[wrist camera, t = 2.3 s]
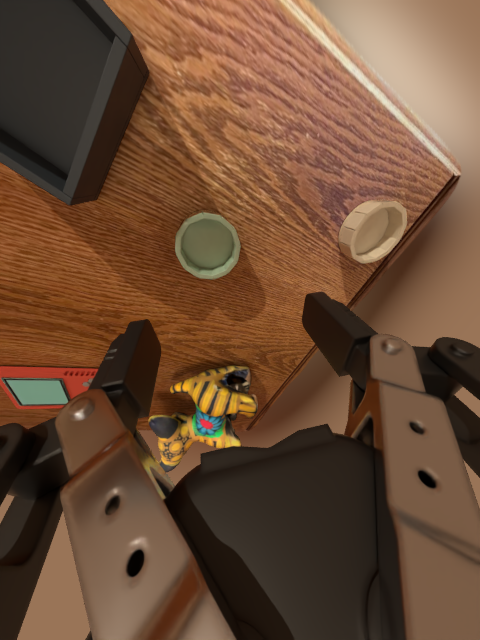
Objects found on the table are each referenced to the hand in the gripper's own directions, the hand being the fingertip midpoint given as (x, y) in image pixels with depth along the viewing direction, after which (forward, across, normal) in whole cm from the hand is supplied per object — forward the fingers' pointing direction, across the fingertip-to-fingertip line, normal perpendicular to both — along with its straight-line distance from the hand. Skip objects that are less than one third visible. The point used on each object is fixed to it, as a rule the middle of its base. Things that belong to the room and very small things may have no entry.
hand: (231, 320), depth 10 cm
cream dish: (+14, -18, 0) cm, 23 cm away
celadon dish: (+14, 0, 0) cm, 15 cm away
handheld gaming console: (+15, +25, +19) cm, 35 cm away
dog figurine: (+15, +6, +28) cm, 32 cm away
